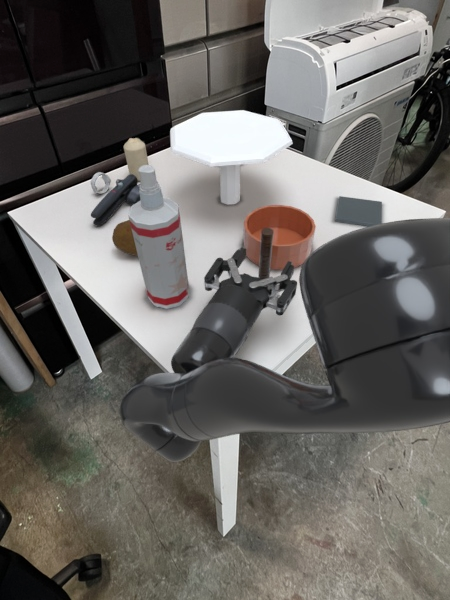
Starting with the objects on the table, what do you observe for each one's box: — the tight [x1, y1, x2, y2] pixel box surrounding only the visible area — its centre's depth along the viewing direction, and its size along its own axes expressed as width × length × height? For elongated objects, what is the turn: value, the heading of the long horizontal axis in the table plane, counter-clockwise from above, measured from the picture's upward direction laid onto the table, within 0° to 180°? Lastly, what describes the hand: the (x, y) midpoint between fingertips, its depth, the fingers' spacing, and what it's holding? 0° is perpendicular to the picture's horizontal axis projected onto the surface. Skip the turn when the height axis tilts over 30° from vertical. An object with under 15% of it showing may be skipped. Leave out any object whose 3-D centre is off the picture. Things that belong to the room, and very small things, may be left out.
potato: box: [111, 219, 138, 256], centre depth 77 cm, size 8×12×8 cm, turn 100°
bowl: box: [243, 204, 317, 271], centre depth 77 cm, size 14×14×6 cm
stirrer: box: [257, 228, 274, 299], centre depth 65 cm, size 4×4×14 cm
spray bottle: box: [127, 164, 190, 310], centre depth 61 cm, size 8×8×25 cm
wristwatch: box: [90, 171, 112, 195], centre depth 95 cm, size 3×5×5 cm, turn 149°
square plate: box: [334, 195, 383, 227], centre depth 87 cm, size 10×10×1 cm
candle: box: [123, 137, 150, 182], centre depth 98 cm, size 6×6×10 cm
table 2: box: [169, 109, 294, 206], centre depth 87 cm, size 28×28×17 cm
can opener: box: [90, 174, 141, 227], centre depth 89 cm, size 18×7×6 cm, turn 153°
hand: (266, 258), depth 64 cm, fingers open, 8 cm apart
